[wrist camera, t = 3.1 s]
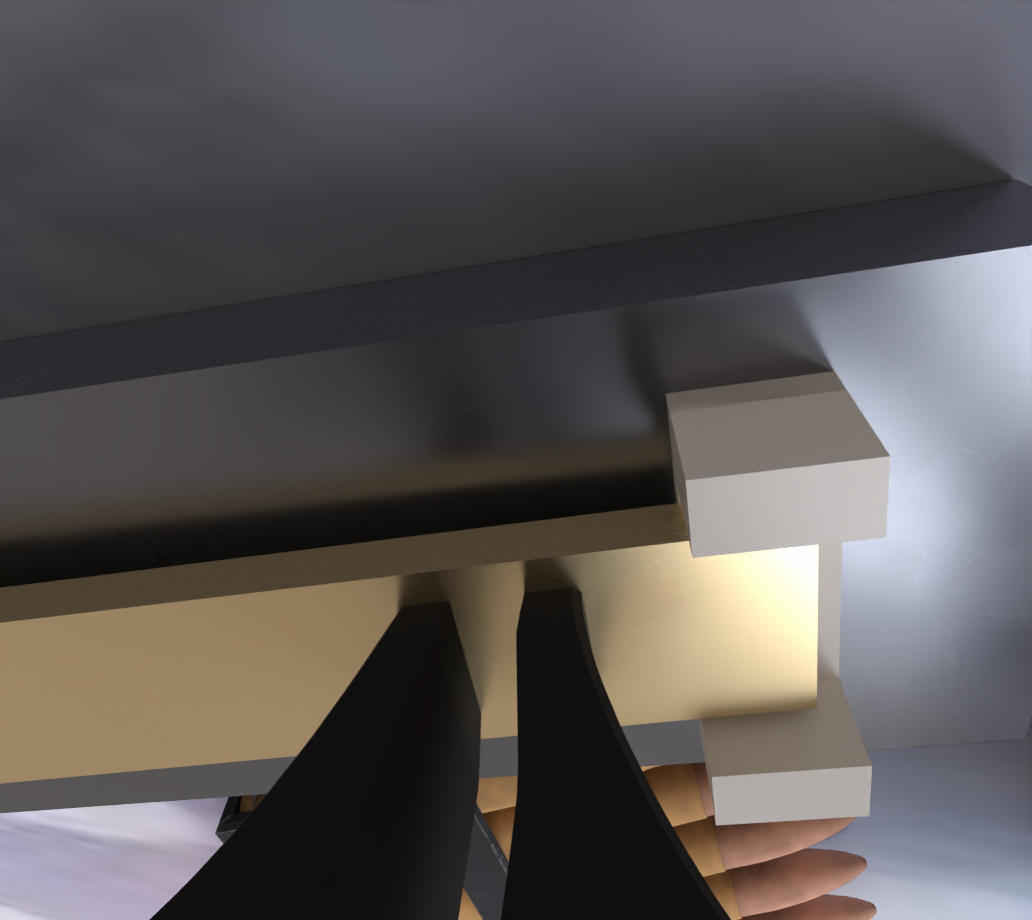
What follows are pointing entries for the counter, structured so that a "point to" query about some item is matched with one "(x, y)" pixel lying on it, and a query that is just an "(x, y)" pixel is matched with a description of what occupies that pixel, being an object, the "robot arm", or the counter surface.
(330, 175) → the counter surface
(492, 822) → the ammunition clip
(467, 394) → the block
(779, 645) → the tan long flat bar
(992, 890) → the counter surface
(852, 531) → the lug
